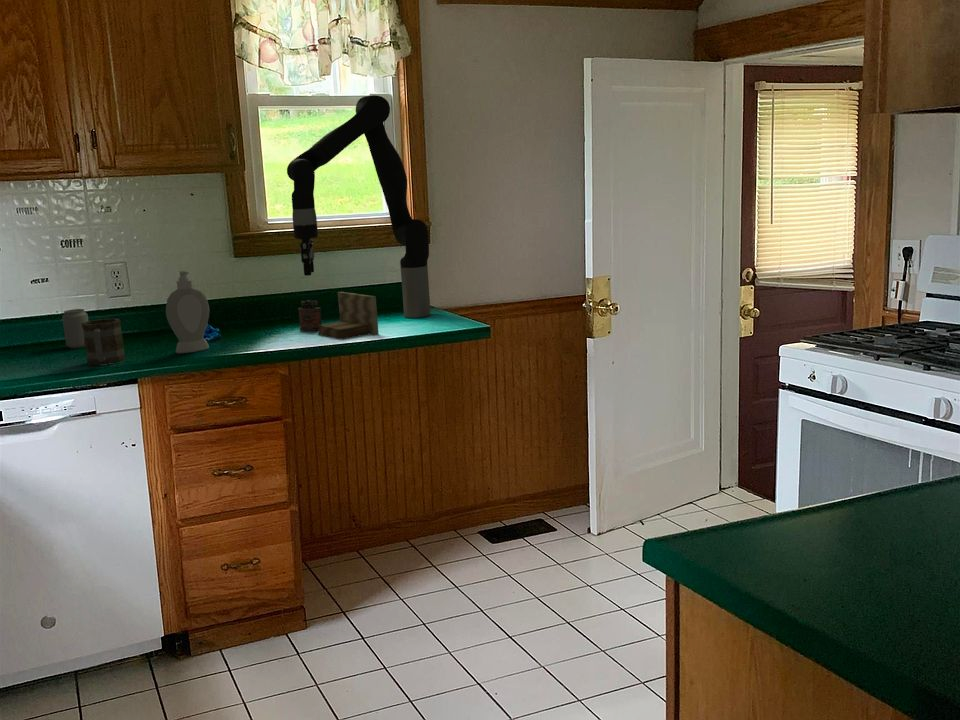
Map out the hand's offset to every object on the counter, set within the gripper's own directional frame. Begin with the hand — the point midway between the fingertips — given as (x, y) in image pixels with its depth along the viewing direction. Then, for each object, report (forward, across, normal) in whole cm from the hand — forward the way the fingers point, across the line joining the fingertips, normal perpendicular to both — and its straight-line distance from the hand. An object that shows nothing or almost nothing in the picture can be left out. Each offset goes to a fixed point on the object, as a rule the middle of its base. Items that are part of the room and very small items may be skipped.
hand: (309, 273), depth 300 cm
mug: (+20, +32, -57) cm, 68 cm away
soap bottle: (+19, +22, -34) cm, 45 cm away
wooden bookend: (+19, +9, +11) cm, 24 cm away
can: (+20, 0, -75) cm, 78 cm away
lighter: (+19, -2, -1) cm, 19 cm away
